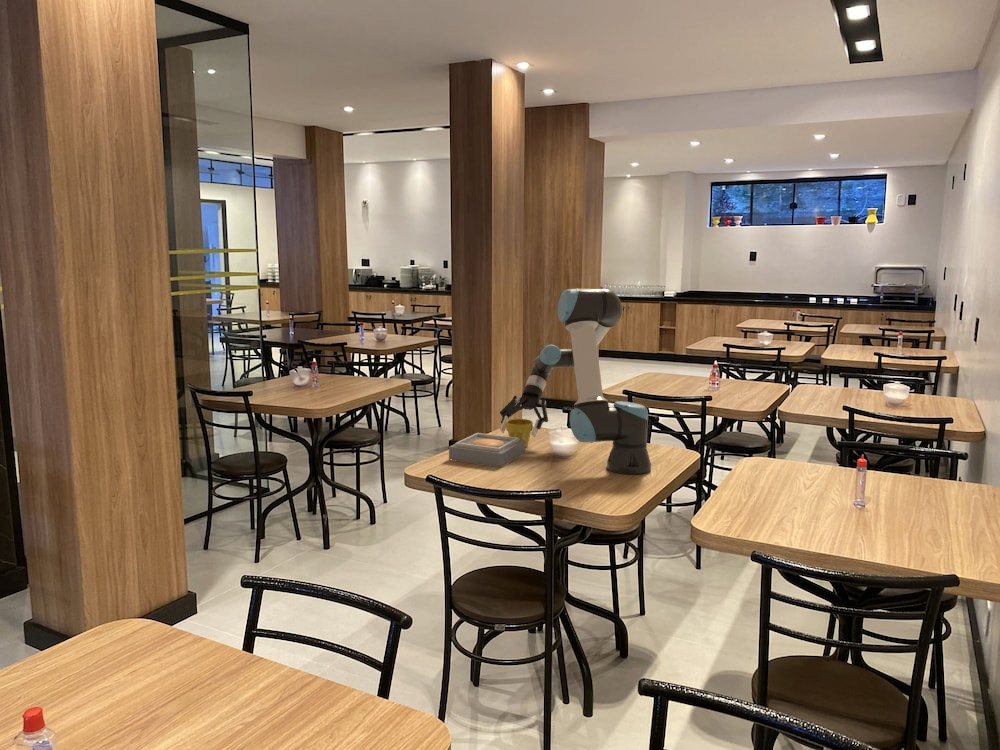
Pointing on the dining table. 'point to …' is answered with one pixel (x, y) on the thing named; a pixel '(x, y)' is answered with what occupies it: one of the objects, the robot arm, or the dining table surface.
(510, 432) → the plant pot
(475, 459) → the grey square tray
